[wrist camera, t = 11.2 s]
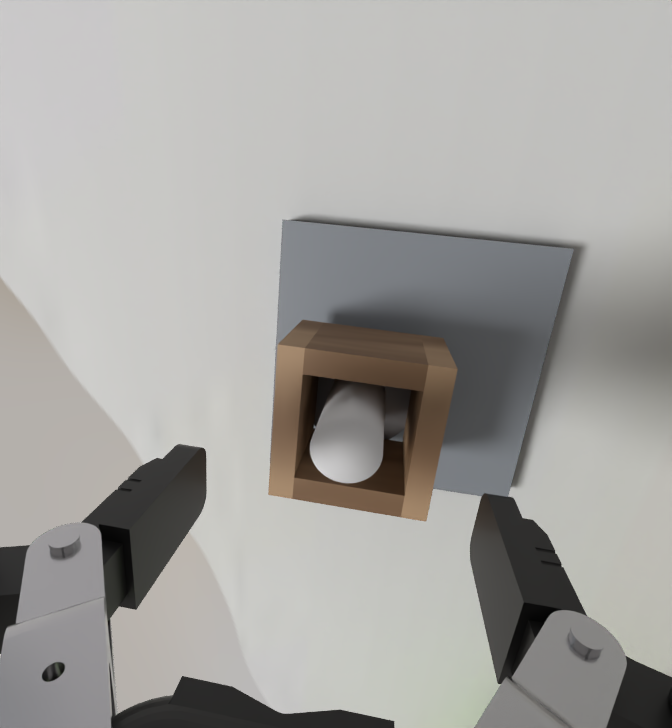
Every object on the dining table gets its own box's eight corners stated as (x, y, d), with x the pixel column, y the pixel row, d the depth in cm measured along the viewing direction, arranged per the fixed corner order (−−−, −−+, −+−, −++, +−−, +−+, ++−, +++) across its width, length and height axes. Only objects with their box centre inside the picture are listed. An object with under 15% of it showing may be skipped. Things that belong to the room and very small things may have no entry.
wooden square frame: (302, 319, 19) (277, 344, 15) (443, 337, 19) (457, 369, 15) (292, 442, 21) (268, 494, 17) (419, 462, 21) (426, 521, 17)
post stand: (288, 220, 21) (225, 214, 13) (563, 247, 19) (676, 259, 12) (275, 452, 25) (222, 554, 17) (501, 486, 24) (554, 613, 16)
